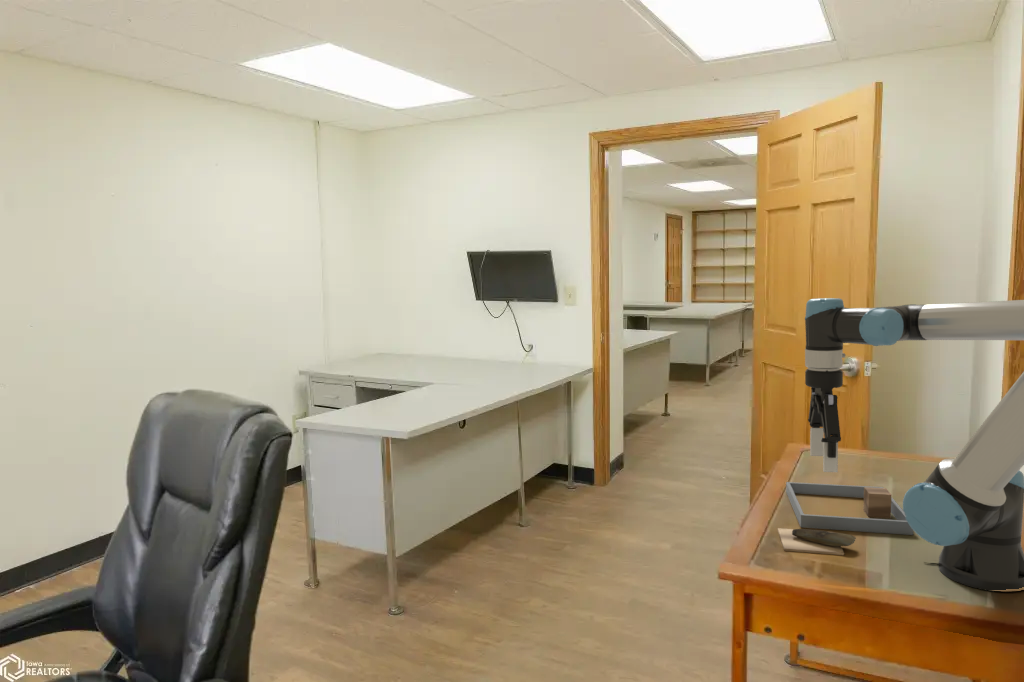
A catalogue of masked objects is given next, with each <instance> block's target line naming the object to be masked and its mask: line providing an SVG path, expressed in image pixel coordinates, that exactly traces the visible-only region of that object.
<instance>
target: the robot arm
mask: <svg viewBox="0 0 1024 682" xmlns="http://www.w3.org/2000/svg"><path fill="white" fill-rule="evenodd" d="M805 304H806V306H805V317H804V323H805V324H804V325H805V326H804V327H805V328H804V329H805V348H804V366H805V367H806V370H805V371H804V372H805V373H804V374H805V375H804V384H805V385H806V386H807V387H809V388H810V391H811V393H810V403H809V410H808V412H809V413H808V419H807V421H808V423H809V426H810V431H809V433H810V437H809V441H810V442H809V446H810V448H809V455H810V456H811V457H823V459H822V462H823V464H822V471H823V473H839V471H838V470H839V469H838V468H839V465H838V463H839V462H838V461H839V459H838V458H839V442H841V441H842V437H841V428H840V417H839V410H838V395H837V394H834V393H833V389H838V388H841V387H842V386H843V382H844V380H843V379H844V377H843V376H844V371H843V370H842V369H840V368H842V367H843V363H844V361H843V358H846V354H845V353H844V351H843V350H844V344H857V345H870V346H873V347H878V346H879V347H880V346H881V347H882V346H892V345H896V343H897V342H901V341H902V342H903V341H1024V299H1015V300H1014V299H1013V300H1011V299H1009V300H995V301H994V300H993V301H971V302H969V301H968V302H951V303H950V302H949V303H930V304H903V305H893V306H881V307H851V308H850V307H845V304H844V300H843V299H842V298H834V297H828V298H827V297H824V298H821V297H818V298H811V299H808V300H807V302H806V303H805ZM1023 466H1024V371H1022V373H1021V374H1020V375H1019V377H1018V378H1017V379H1016V381H1014V383H1013V385H1012V386H1011V387H1010V388H1009V389H1008V391H1007V392H1006V393H1005V395H1004V396H1003V397H1002V398H1001V400H1000V401H999V402H998V403H997V404H996V406H995V407H994V409H993V410H992V411H991V412H990V413H989V415H988V416H987V417H986V418H985V420H984V421H983V422H982V423H981V425H980V426H979V428H978V429H977V430H976V431H975V432H974V434H973V435H972V436H971V438H970V439H969V440H968V441H967V443H965V445H964V447H963V448H962V449H960V452H958V454H957V455H956V456H955V458H944V459H941V461H939V463H938V464H937V465H936V467H935V468H934V469H933V471H931V473H930V474H929V476H928V477H927V478H926V480H924V481H923V482H918V483H916V484H914V485H913V486H912V487H910V488H909V489H908V490H907V491H906V492H905V494H904V497H903V499H902V509H903V511H904V512H905V515H906V517H905V518H906V520H907V522H908V524H909V525H910V527H911V528H912V529H913V533H915V534H916V535H918V536H919V538H921V539H923V540H924V541H926V542H928V543H930V544H933V545H936V546H941V547H942V550H941V551H940V554H939V557H938V570H939V571H940V573H941V574H942V575H943V576H945V577H947V578H948V579H950V580H952V581H954V582H956V583H959V584H961V585H964V586H967V587H971V588H973V589H977V588H979V589H978V590H982V589H986V590H985V591H987V590H1006V589H1019V588H1022V587H1024V550H1023V547H1022V531H1023V520H1024V519H1023V518H1024V517H1023V516H1024V473H1023V472H1022V471H1020V470H1021V469H1022V468H1023Z"/></svg>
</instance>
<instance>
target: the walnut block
mask: <svg viewBox="0 0 1024 682" xmlns="http://www.w3.org/2000/svg"><path fill="white" fill-rule="evenodd" d="M891 497H892V494H891V493H890V491H889V490H888V489H887V488H885V487H883V488H870V487H864V498H863V507H862V509H863V512H864V513H865V515H866V516H867V518H875V519H891V518H892V517H891V516H892V513H891Z"/></svg>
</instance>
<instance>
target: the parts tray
mask: <svg viewBox="0 0 1024 682" xmlns="http://www.w3.org/2000/svg"><path fill="white" fill-rule="evenodd" d="M864 487H870V488H884V487H883V486H870V485H869V486H868V485H867V486H866V485H849V484H848V485H847V484H834V483H833V484H832V483H831V484H830V483H813V482H811V483H810V482H797V481H796V482H794V481H786V483H785V493H786V496H787V497H788V500H789V502H790V505H791V507H792V510H793V512H794V515H795V517H796V520H797V523H798V525H799V527H800V528H802V529H804V528H805V529H806V528H807V529H818V530H821V529H822V530H834V531H835V530H836V531H852V532H861V533H863V532H865V533H876V534H877V533H878V534H881V533H882V534H894V535H904V536H905V535H908V536H914V530H913V529H912V528H911V527H910V525H909V524H908V522H907V520H906V518H905V517H906V515H905V512H904V511H903V507H902V506H900V505H899V504H898V503H897V502H896V500H895V499H894V498H893V497H892V496H891V515H893V517H894V518H895V519H888V518H873V517H854V516H838V515H825V514H807V513H806V514H805V513H804V512H803V509H802V507H801V505H800V502H799V501H798V500H799V499H798V497H797V496H796V494H804V495H816V496H817V495H818V496H830V497H845V498H846V497H847V498H860V499H864Z"/></svg>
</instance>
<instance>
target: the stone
mask: <svg viewBox="0 0 1024 682" xmlns="http://www.w3.org/2000/svg"><path fill="white" fill-rule="evenodd" d="M792 535H794V536H796V537H798V538H801V539H804V540H808V541H812V542H816V543H820V544H824V545H829V546H841V547H849V546H851V545H853V544H854V543H855V542H856V539H857V537H856V536H854V535H852V534H847V533H842V532H834V531H827V530H826V531H825V530H821V529H818V530H817V529H810V528H807V529H806V528H805V529H804V528H794V530H793V531H792Z"/></svg>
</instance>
